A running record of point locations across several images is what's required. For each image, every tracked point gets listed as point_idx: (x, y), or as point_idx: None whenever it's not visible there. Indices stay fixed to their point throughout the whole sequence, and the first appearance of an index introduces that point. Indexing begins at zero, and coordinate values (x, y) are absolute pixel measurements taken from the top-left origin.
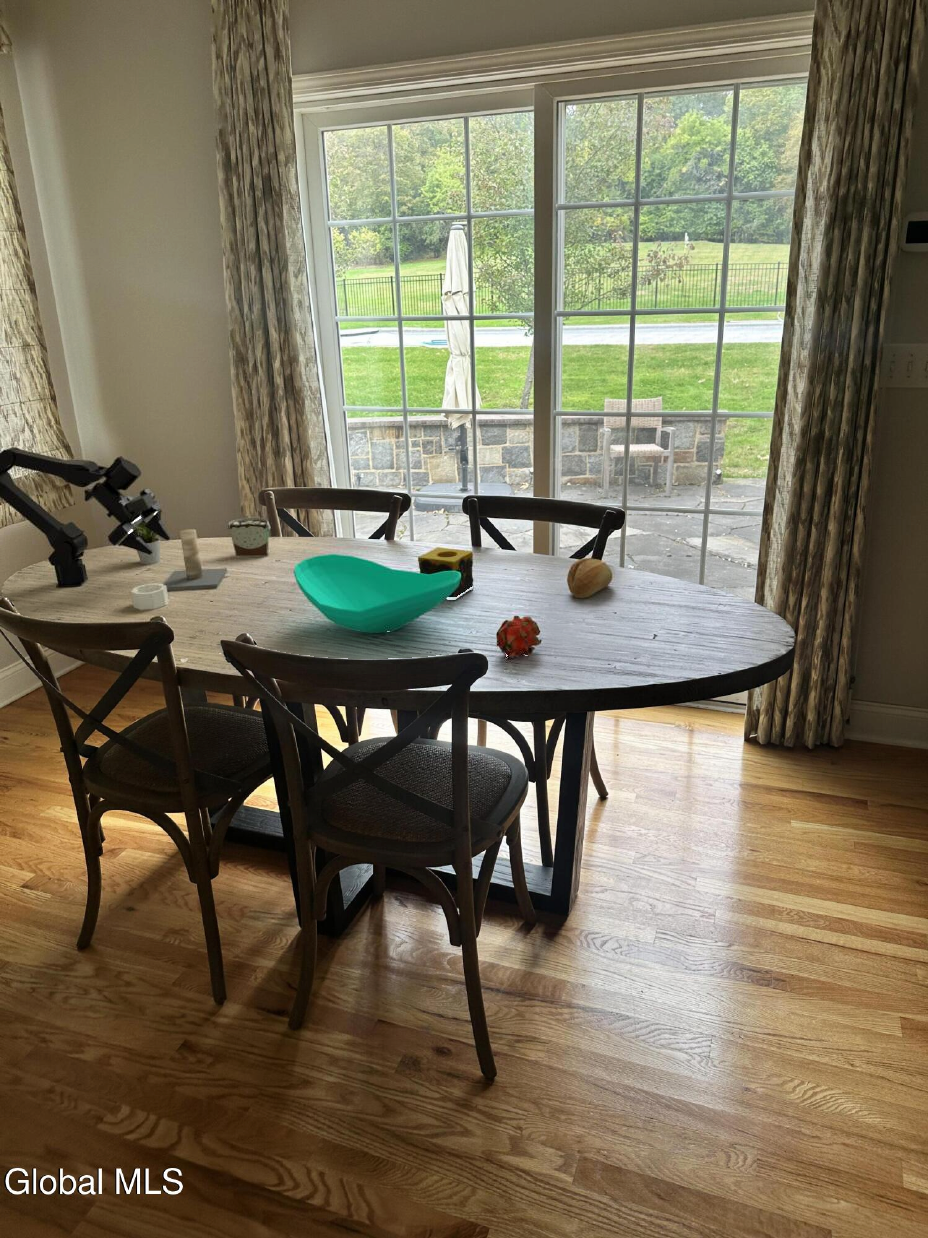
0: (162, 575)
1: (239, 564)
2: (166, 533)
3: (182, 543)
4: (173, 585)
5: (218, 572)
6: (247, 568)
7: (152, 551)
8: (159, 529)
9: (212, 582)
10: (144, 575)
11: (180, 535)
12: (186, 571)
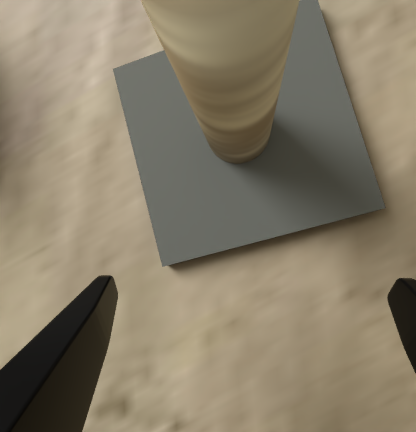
0: (180, 311)
1: (35, 78)
2: (87, 308)
3: (282, 52)
4: (352, 167)
5: (167, 72)
6: (78, 24)
7: (406, 279)
8: (60, 404)
9: (294, 25)
10: (186, 389)
11: (276, 15)
12: (264, 141)
